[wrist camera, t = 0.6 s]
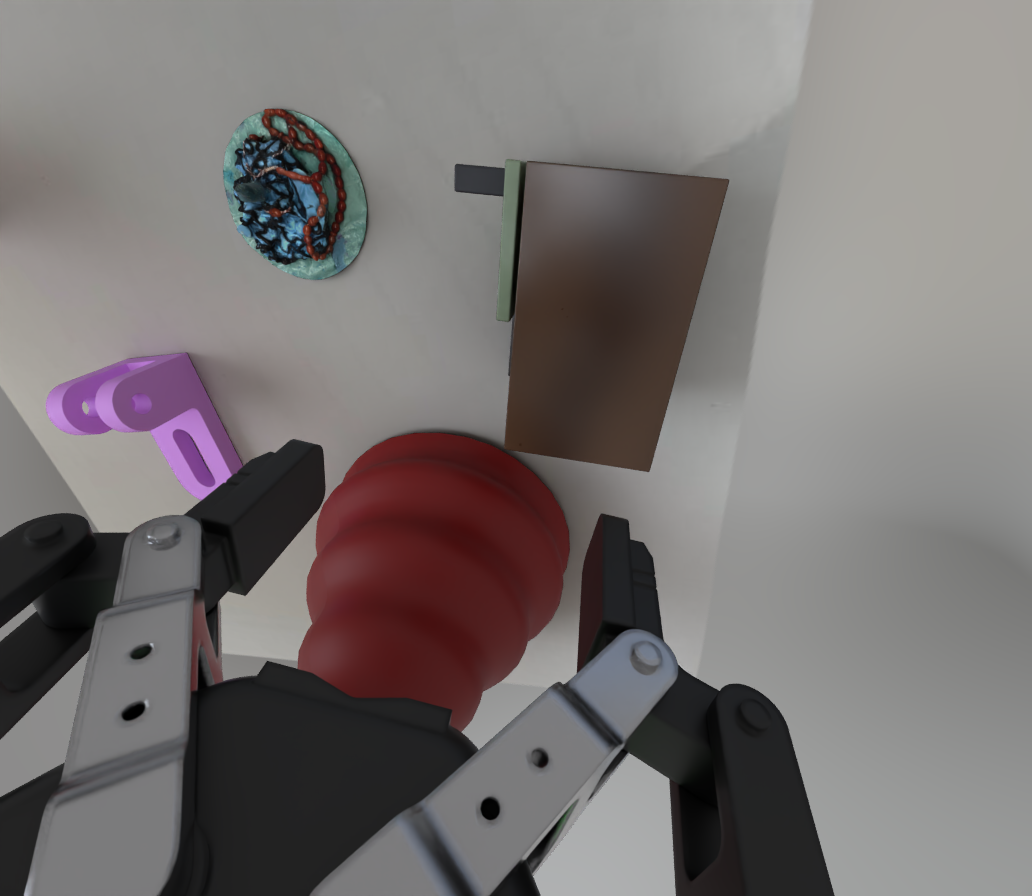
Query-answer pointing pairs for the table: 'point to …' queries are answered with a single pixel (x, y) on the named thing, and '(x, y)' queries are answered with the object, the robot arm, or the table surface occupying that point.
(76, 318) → the table surface
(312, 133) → the dish
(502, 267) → the closet door
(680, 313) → the box
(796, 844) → the robot arm
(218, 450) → the bracket
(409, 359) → the table surface
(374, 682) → the table lamp
